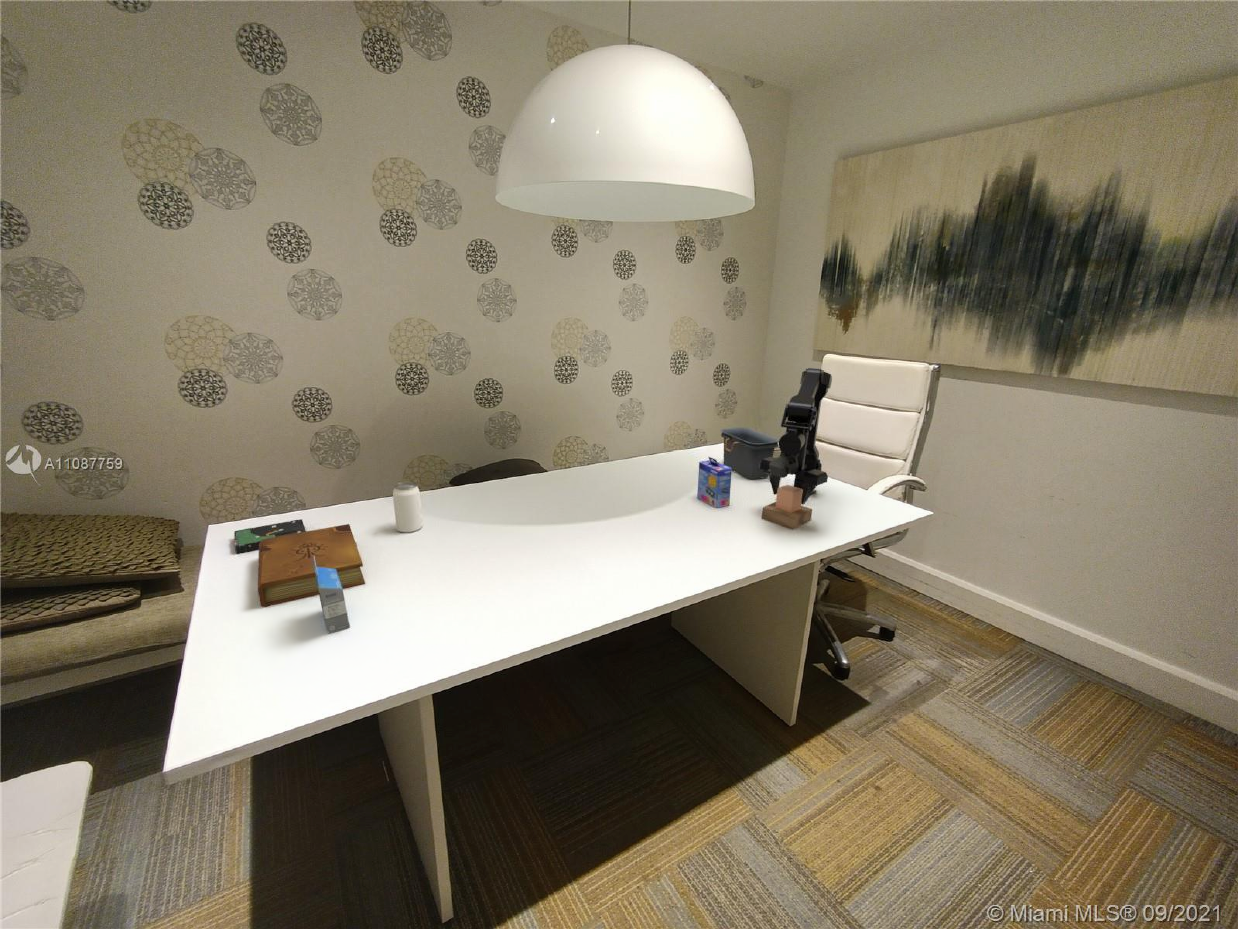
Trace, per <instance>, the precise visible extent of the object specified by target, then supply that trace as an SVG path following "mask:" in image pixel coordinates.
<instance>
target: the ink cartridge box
mask: <svg viewBox="0 0 1238 929" xmlns="http://www.w3.org/2000/svg"><path fill="white" fill-rule="evenodd" d="M708 459H709V460H703V461H702V460H701V461H699V462H698V478H697V480H698V481H697V496H696V498H697V499H698V500H700V501H702V502H703V503H706V504H708V505H710V506H711V507H713V508H715V509H718V508H724V507H728V506H730V503H731V502H730V500H731V486H732V474H733V473H732V468H730V467H728V466H726V465H724V463H723V464H722V463H720V462H718V460H717V459H715V458H713V457H710V456H708Z"/></svg>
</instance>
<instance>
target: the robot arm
mask: <svg viewBox="0 0 1238 929" xmlns="http://www.w3.org/2000/svg"><path fill="white" fill-rule="evenodd" d="M832 380H833V376H832V374H831V373H828V372H826V371H825V370H824V369H822V368H814V367H813V368H812V367H808V368H805V370H804V371H802V372H801V378H800V387H799V391H798V393H797V394H795V395H794V396H791V398H790V399H789V402H788V403H786V404H785V408H784V412H783V416H782V420H781V423H780V427H781V428H786V429H785V432H784V434H782V435H781V437H780V438H779V442H778V448H779V450H780V454H779V456H777V457H774V456H773V457H769V458H765V459H762V460H761V461H760V465H759V468H760V469H763V472H764V473H766V474H767V475H768V479H769V481H770V485H771V489H772V493H773V496H774V495H776V496H777V490H778V488H779V487H780V484H781V479H784V478H786V477H787V476H788V475H791V476H793V475H795V476H794V480H793V486H794V487H797V488H800V489H803V493H802V499H801V505H805V504H806V502H807V501H808V499H809V498H810V496H811V495H812V494H816V493H817V490H815V489H816V488H817V487H818V486H820V485H824V484H825V483H828V479H829V477H828V473H827V472H826V471H823V470H822V466H823V464H822V463H821V459H819V458H820V452H819V450H818V448H817V446H816V442H817V435H818V426H819V420H820V413H821V405H822V401H823V399H824V398H825V397H826V395H827V394H828V393H829V389H831V387H832V382H833V381H832Z"/></svg>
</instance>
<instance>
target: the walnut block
mask: <svg viewBox="0 0 1238 929" xmlns="http://www.w3.org/2000/svg"><path fill="white" fill-rule="evenodd" d="M775 506H776V501H775V502H772V503H770V504H767V505H765V506H763V507H762V511H761V512H762V513H761V520H763V521H767V522H769V523H771V524H775V525H778V526H781V527H784V528H786V529H788V530H789V529H790V530H792V531H793V530H795V529H798V528H799V527H801V526H803V525H805V524H807V523H808V522H810V521H811V520H812V514H813V508H810V507H806V506H803V505H801V509H800V510H797V511H794V512H792V513H789V512H786V511H783V510H781V509H778V508H775Z"/></svg>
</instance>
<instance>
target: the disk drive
mask: <svg viewBox="0 0 1238 929" xmlns="http://www.w3.org/2000/svg"><path fill="white" fill-rule="evenodd" d="M306 531H307V530H306V526H305V524H304V521H303V519H296V520H294V519H293V520H290V521H289V520H288V521H284V522H278V523H273V524H267V525H259V526H256V527H249V528H243V529H239V530H234V531H233V532H234V533H233V534H234V535H233V536H234V538H233V539H234V548H235V549H234V550H235V554H236V555H242V554H246V553H252V552H255V551H259V543H260V542H261V541H262V539H267V538H272V537H278V536H284V535H289V534H295V533H301V532H306Z"/></svg>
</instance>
